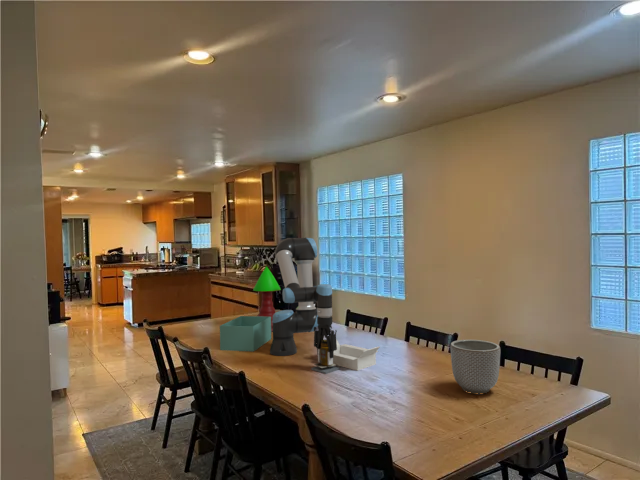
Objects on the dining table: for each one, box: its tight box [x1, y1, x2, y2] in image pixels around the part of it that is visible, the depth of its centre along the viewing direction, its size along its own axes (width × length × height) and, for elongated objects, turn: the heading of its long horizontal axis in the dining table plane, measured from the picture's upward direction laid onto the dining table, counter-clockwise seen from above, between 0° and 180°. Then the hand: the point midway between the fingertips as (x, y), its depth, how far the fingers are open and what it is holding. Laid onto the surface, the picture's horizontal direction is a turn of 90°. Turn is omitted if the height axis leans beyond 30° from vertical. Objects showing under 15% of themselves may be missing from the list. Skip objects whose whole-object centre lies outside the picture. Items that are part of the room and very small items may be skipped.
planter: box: [449, 339, 501, 395], centre depth 185 cm, size 20×20×19 cm
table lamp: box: [252, 266, 282, 333], centre depth 314 cm, size 20×20×45 cm
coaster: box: [310, 365, 341, 375], centre depth 218 cm, size 10×10×1 cm
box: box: [219, 315, 272, 352], centre depth 272 cm, size 21×32×14 cm, turn 168°
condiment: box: [313, 339, 336, 368], centre depth 218 cm, size 7×8×12 cm
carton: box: [333, 338, 381, 372], centre depth 229 cm, size 31×20×10 cm, turn 45°
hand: (325, 363), depth 218 cm, fingers closed on condiment, 6 cm apart
